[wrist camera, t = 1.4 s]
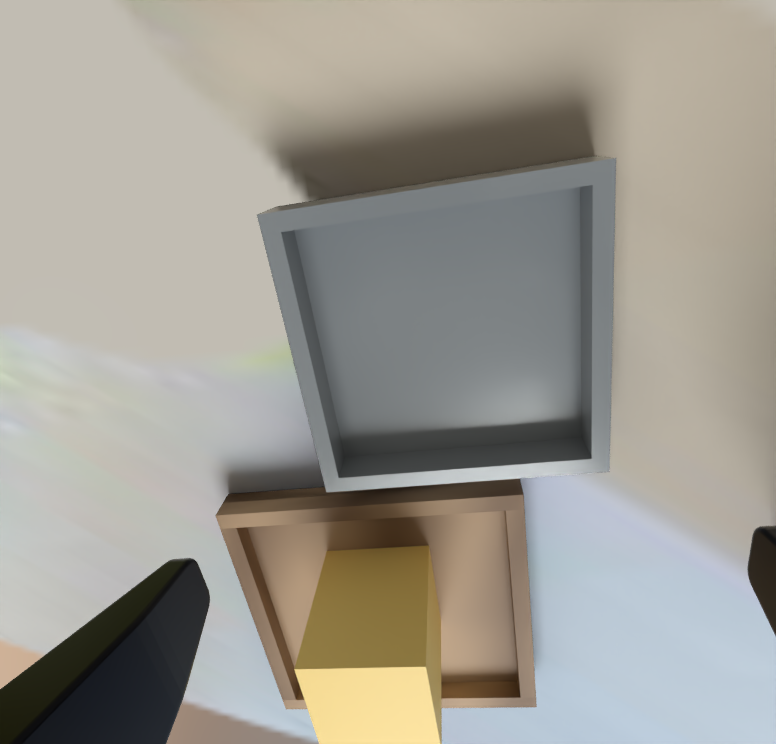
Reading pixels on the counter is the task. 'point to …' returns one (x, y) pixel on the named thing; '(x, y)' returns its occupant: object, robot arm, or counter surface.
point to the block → (374, 649)
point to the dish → (453, 325)
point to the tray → (387, 530)
